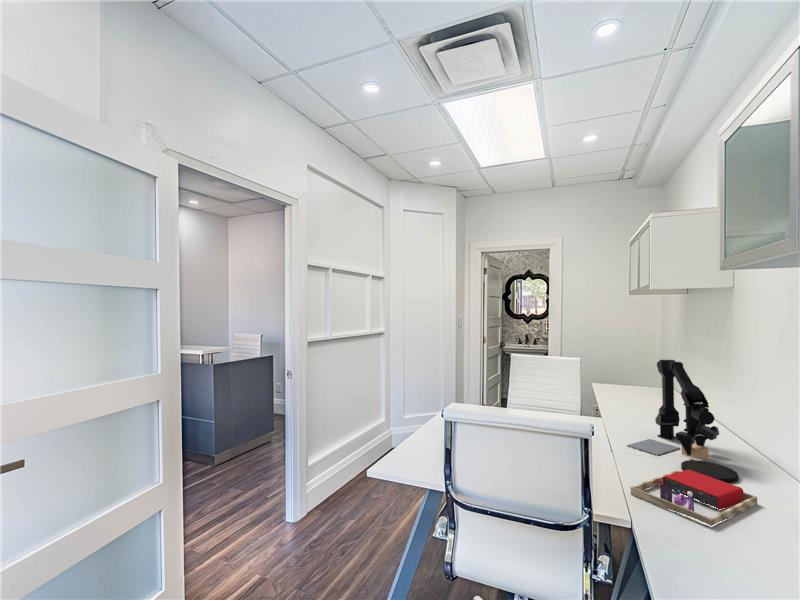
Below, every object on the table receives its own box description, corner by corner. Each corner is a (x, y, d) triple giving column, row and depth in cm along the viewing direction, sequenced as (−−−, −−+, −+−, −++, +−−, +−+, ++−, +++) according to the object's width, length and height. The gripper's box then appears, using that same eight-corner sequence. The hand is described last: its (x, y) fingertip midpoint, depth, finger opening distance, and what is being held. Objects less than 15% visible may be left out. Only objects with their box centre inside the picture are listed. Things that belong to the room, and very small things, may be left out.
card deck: (688, 452, 176) (687, 442, 176) (708, 458, 169) (708, 448, 169) (681, 454, 174) (681, 444, 174) (702, 460, 167) (701, 450, 167)
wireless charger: (742, 474, 153) (742, 469, 153) (734, 488, 141) (733, 483, 141) (687, 461, 167) (687, 457, 167) (676, 473, 155) (675, 468, 155)
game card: (660, 484, 131) (693, 491, 125) (661, 484, 135) (693, 491, 129) (660, 505, 129) (693, 514, 124) (661, 505, 133) (694, 513, 127)
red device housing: (663, 489, 142) (662, 475, 142) (687, 481, 147) (686, 468, 148) (719, 512, 125) (718, 497, 126) (743, 503, 131) (743, 488, 131)
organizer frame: (677, 476, 151) (677, 470, 151) (757, 504, 129) (757, 496, 130) (630, 494, 138) (630, 487, 138) (711, 528, 116) (711, 520, 116)
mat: (649, 440, 193) (649, 438, 193) (680, 448, 180) (680, 447, 180) (627, 446, 185) (626, 445, 185) (657, 456, 172) (657, 454, 172)
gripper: (703, 426, 161) (704, 463, 160) (726, 419, 169) (727, 455, 169) (674, 419, 170) (675, 455, 170) (697, 413, 179) (698, 447, 179)
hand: (694, 453), depth 172 cm, fingers open, 9 cm apart
